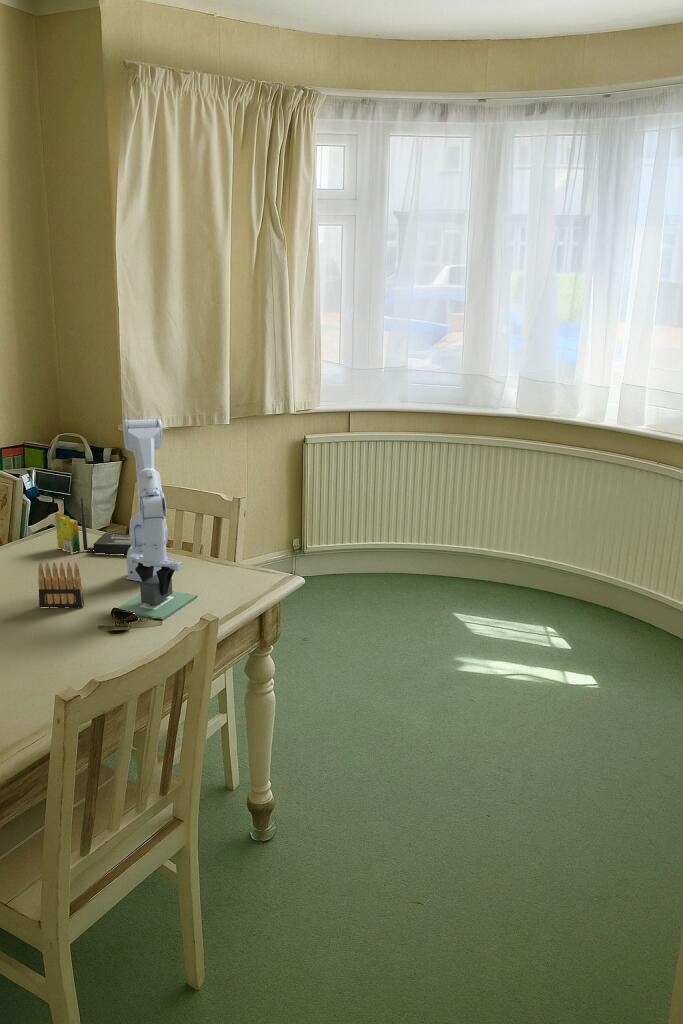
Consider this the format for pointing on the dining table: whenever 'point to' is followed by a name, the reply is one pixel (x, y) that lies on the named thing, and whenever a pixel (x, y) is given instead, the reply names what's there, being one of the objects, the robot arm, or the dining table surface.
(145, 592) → the block
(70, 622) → the dining table surface
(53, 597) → the ammunition clip
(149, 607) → the header board
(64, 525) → the crayon box
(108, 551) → the wifi router
